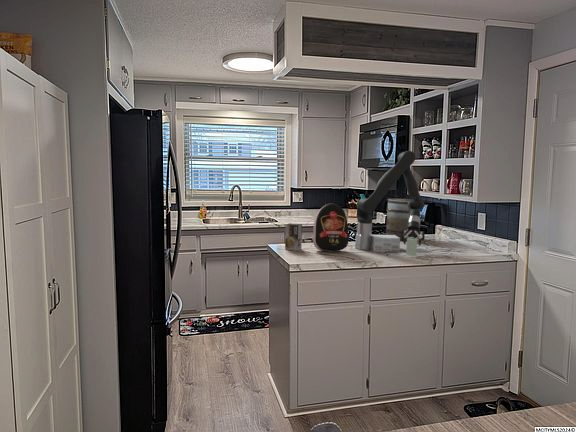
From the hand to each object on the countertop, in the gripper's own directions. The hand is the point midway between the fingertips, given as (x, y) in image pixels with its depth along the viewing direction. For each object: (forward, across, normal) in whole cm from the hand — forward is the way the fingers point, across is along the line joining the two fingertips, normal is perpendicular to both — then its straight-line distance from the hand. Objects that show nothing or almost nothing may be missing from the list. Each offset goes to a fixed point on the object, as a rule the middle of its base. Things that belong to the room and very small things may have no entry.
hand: (412, 244), depth 265 cm
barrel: (-39, -10, +49) cm, 64 cm away
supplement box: (-2, -18, +12) cm, 21 cm away
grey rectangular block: (+4, 0, +4) cm, 6 cm away
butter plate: (+5, 0, +4) cm, 7 cm away
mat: (-5, +5, +15) cm, 16 cm away
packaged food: (+13, -49, -4) cm, 51 cm away
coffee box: (+18, -72, -8) cm, 74 cm away
